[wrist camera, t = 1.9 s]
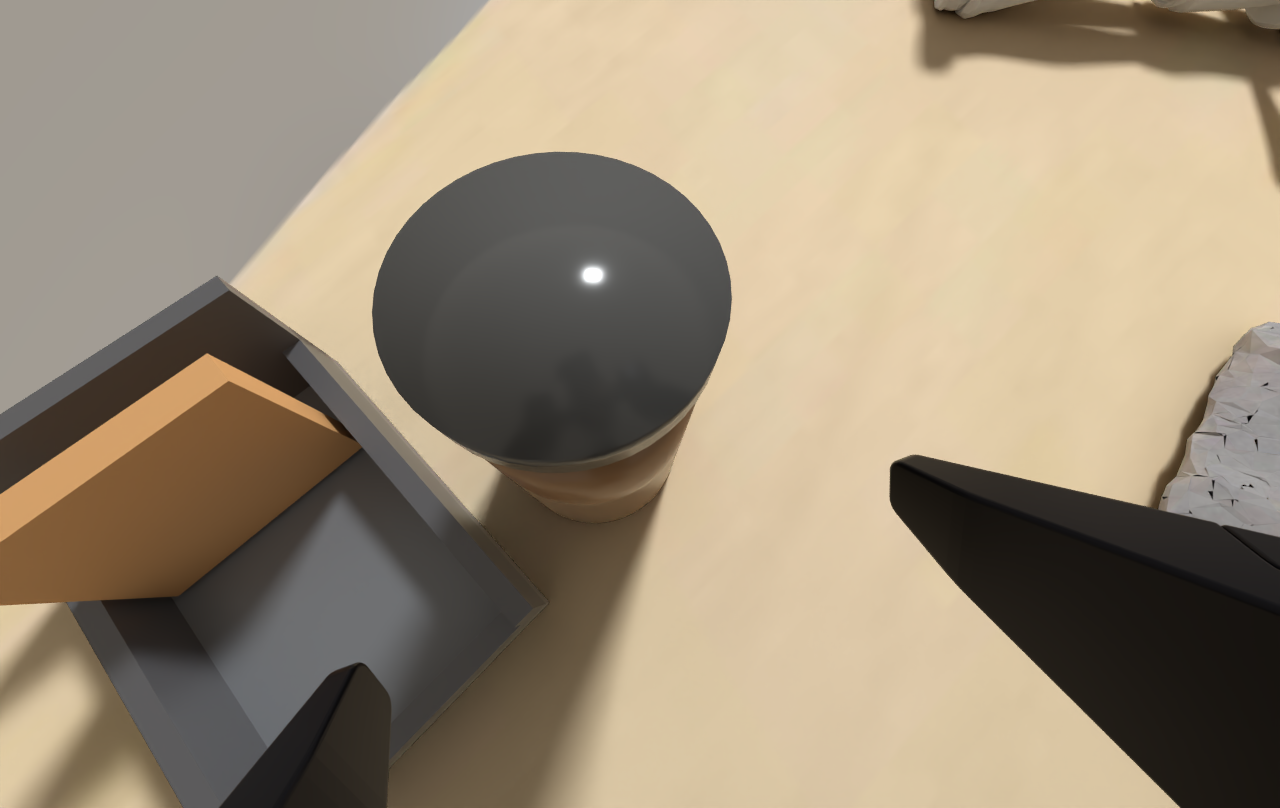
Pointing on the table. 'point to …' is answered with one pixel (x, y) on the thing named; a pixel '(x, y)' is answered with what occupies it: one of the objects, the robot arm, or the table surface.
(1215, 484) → the stone
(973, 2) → the toy
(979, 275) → the table surface
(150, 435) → the block
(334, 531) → the tray
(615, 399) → the jar
